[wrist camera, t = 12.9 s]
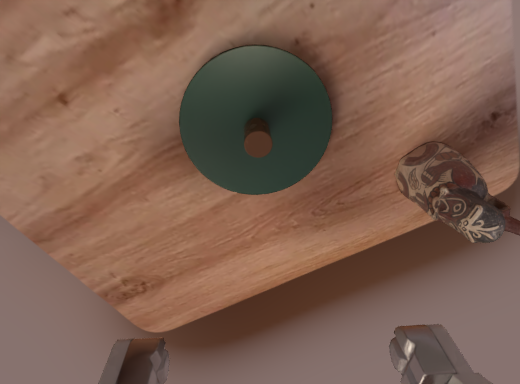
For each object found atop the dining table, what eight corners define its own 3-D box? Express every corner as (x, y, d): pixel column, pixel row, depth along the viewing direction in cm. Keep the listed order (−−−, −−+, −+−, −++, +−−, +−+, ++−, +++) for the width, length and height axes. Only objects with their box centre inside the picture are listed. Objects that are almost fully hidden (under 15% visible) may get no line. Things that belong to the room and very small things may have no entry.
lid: (338, 42, 27) (356, 47, 23) (322, 187, 35) (333, 211, 31) (169, 45, 27) (154, 52, 22) (192, 192, 35) (184, 217, 30)
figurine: (408, 138, 33) (483, 195, 22) (467, 144, 33) (566, 201, 23) (387, 193, 36) (443, 263, 26) (440, 197, 37) (516, 267, 27)
